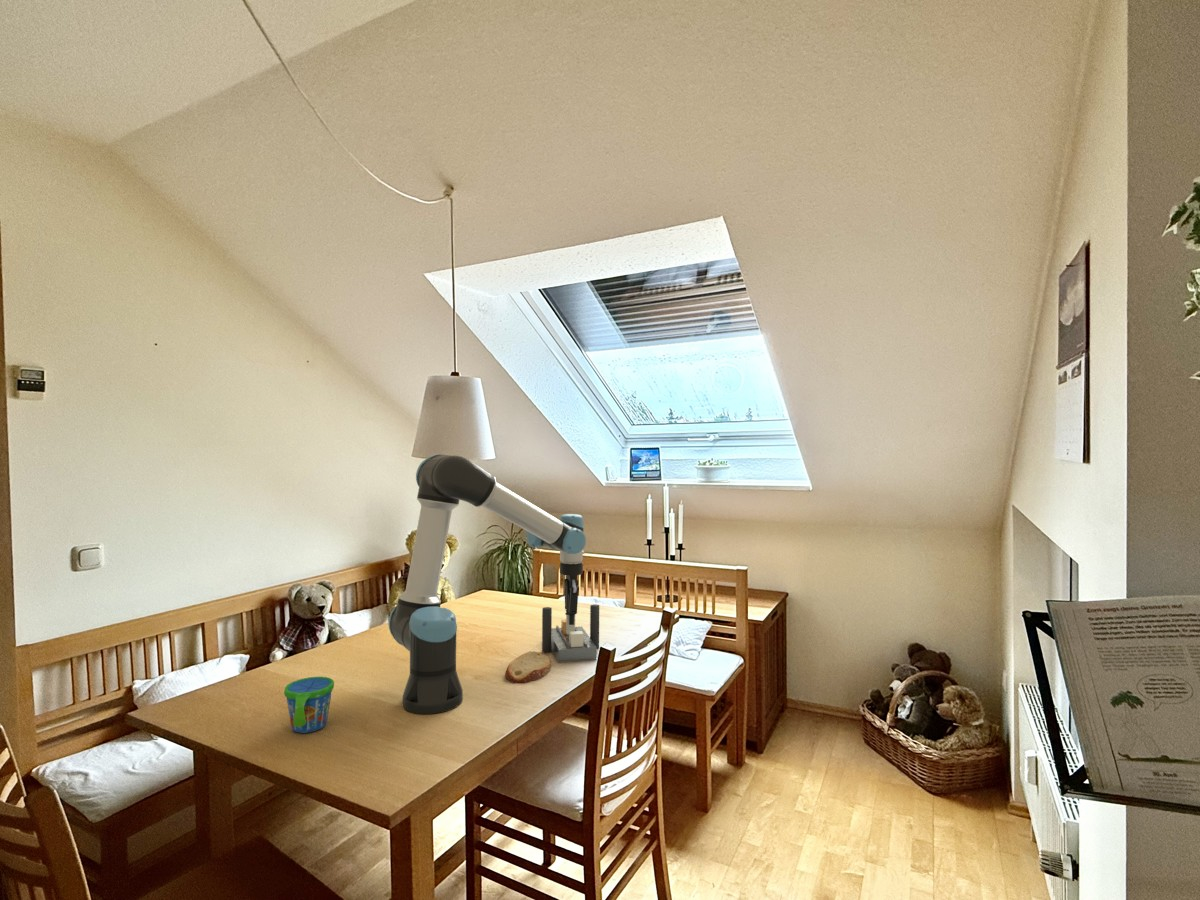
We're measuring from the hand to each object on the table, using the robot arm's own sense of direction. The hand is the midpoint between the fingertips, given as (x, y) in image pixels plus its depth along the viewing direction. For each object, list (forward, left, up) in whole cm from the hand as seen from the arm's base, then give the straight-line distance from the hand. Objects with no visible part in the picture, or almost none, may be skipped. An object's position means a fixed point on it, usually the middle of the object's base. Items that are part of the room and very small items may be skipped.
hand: (570, 633), depth 200 cm
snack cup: (-40, +71, -6) cm, 81 cm away
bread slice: (-14, +16, -6) cm, 22 cm away
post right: (0, -8, -5) cm, 10 cm away
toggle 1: (+5, 0, -1) cm, 5 cm away
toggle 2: (-8, 0, -1) cm, 8 cm away
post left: (0, +8, -5) cm, 9 cm away
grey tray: (0, 0, -5) cm, 5 cm away
